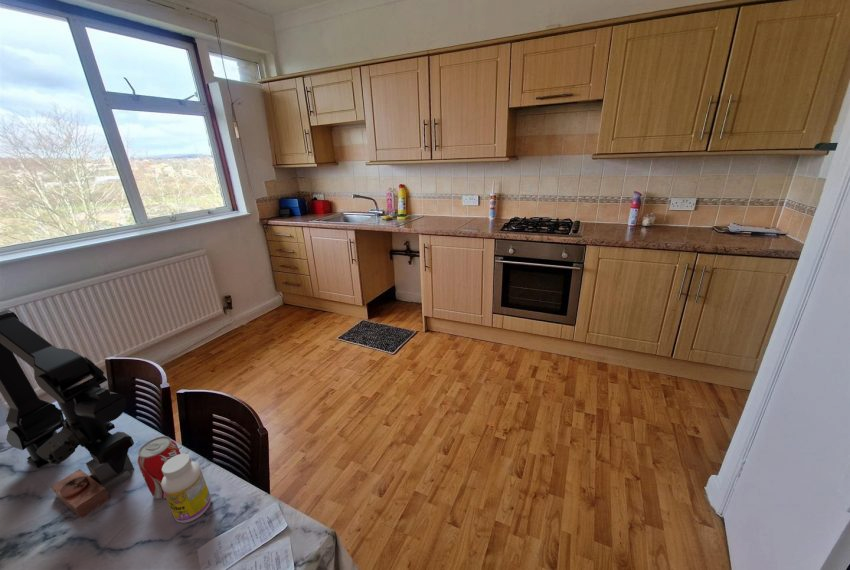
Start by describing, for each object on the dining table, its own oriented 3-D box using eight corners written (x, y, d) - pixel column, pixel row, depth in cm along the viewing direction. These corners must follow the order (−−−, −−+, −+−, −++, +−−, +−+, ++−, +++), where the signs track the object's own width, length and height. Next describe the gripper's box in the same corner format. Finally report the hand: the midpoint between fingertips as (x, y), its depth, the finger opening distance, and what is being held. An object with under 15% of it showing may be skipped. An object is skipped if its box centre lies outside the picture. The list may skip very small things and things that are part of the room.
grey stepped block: (95, 483, 81) (83, 459, 78) (125, 463, 86) (115, 440, 83) (104, 489, 79) (91, 465, 76) (134, 469, 84) (123, 446, 81)
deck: (56, 496, 78) (48, 483, 76) (110, 462, 86) (104, 450, 85) (81, 518, 72) (73, 504, 71) (135, 480, 81) (129, 467, 79)
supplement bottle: (168, 517, 72) (147, 470, 67) (199, 490, 77) (182, 445, 73) (188, 529, 69) (168, 482, 65) (218, 501, 75) (202, 455, 70)
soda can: (171, 504, 74) (153, 461, 70) (144, 499, 76) (125, 457, 72) (197, 476, 81) (182, 435, 77) (172, 472, 82) (156, 432, 78)
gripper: (14, 422, 73) (46, 478, 78) (52, 452, 65) (84, 511, 70) (82, 391, 82) (106, 443, 88) (122, 413, 74) (146, 468, 79)
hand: (110, 465), depth 81 cm, fingers open, 9 cm apart
